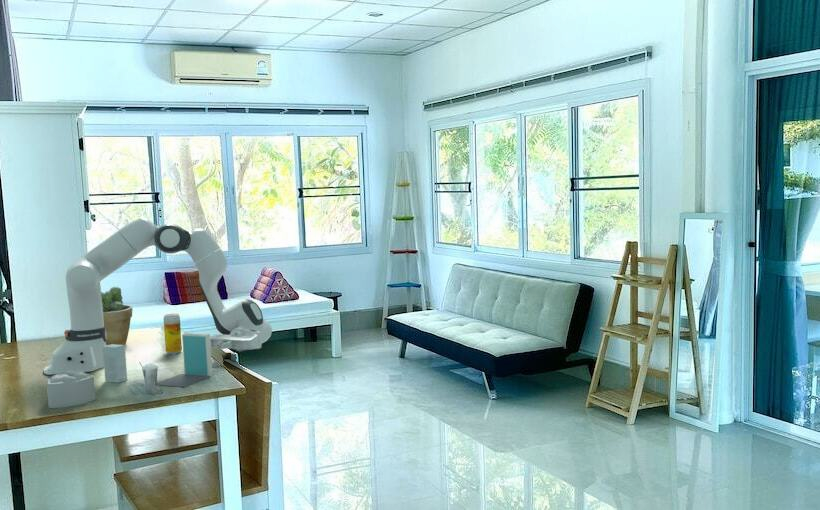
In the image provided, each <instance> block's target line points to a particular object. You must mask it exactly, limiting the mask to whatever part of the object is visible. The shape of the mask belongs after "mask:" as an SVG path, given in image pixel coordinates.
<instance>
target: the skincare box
mask: <svg viewBox="0 0 820 510" xmlns="http://www.w3.org/2000/svg"><path fill="white" fill-rule="evenodd" d="M103 358H104V367H103V368H104V381H105V382H107V383H116V384H117V383H121V382H124V381H127V380H128V372H127V358H126V345H115V344H111V345H107V346H103Z"/></svg>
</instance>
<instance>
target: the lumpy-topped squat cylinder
mask: <svg viewBox="0 0 820 510" xmlns="http://www.w3.org/2000/svg"><path fill="white" fill-rule="evenodd" d="M46 392H47V393H46V394H47V403H48V405H47V407H48V408H50V409H51V408H52V409H57V408H58V409H59V408H66V407H72V406H73V407H74V406H80V405H83V404H87V403H90V402H92V401H95V400H96V388H95V376H94V375H93V374H90V373H87V372H75V373H74V372H72V371H68V372H65V373H64V374H53V375H52V376H51V377H50V378H47V379H46Z"/></svg>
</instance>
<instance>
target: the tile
mask: <svg viewBox="0 0 820 510" xmlns="http://www.w3.org/2000/svg"><path fill="white" fill-rule="evenodd" d="M210 336H211V334H210V333H209V334H207V333H188V332H185V333H181V342H182V353H183V355H182V356H183V368H184V369H183V371H184V372H183V374H192V375H205V376H210V377H211V376H213V363H212V362H213V361H212V349H211V348H212V347H211V344H210Z"/></svg>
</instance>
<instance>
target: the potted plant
mask: <svg viewBox="0 0 820 510" xmlns="http://www.w3.org/2000/svg"><path fill="white" fill-rule="evenodd" d="M101 297H102V306H103V319H104V326H105V329H106V338H107V339H106V346H107V345H111V344H115V345H125V346H126V344H127V341H128V338H129V332H130V328H131V318H132V316H133V306H132V305H128V304H127V305H126V304H124V301H123V296H122V288H121V287H119V286H112V287H111V288H110V289H109V291H108V290H107V291H104V292H102V291H101Z"/></svg>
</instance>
